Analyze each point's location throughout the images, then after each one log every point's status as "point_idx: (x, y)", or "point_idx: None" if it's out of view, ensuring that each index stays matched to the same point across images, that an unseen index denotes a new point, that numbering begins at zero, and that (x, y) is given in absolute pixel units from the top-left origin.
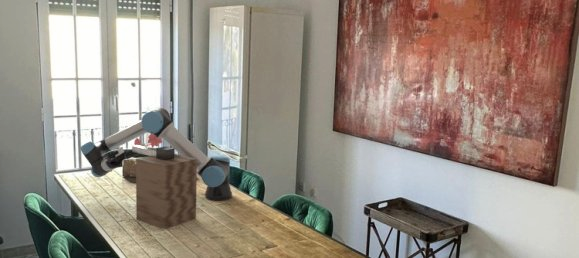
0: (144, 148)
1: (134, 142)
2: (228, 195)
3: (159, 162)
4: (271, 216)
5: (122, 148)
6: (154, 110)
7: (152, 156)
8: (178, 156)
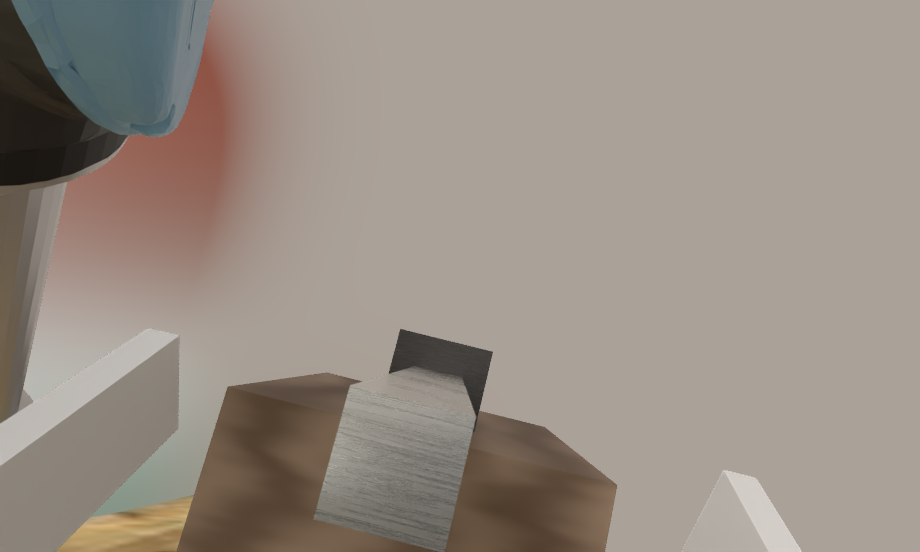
0: (465, 388)
1: None
2: None
3: (526, 431)
4: (109, 539)
5: (720, 500)
6: None
7: None
8: (327, 386)
